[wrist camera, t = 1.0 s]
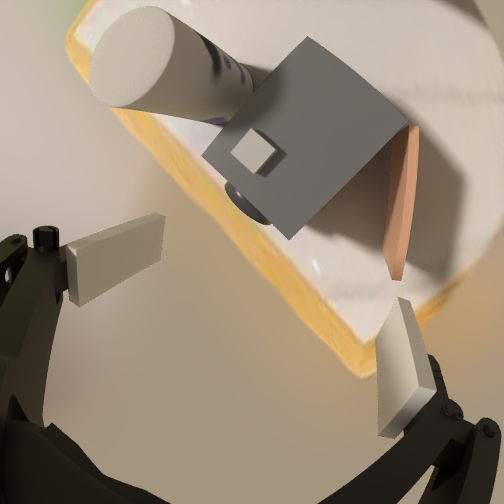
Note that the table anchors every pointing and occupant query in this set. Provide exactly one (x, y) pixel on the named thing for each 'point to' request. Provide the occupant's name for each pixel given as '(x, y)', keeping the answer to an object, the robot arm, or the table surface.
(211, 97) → the container
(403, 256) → the side door
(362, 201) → the table surface
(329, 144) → the dark gray knobbed box
